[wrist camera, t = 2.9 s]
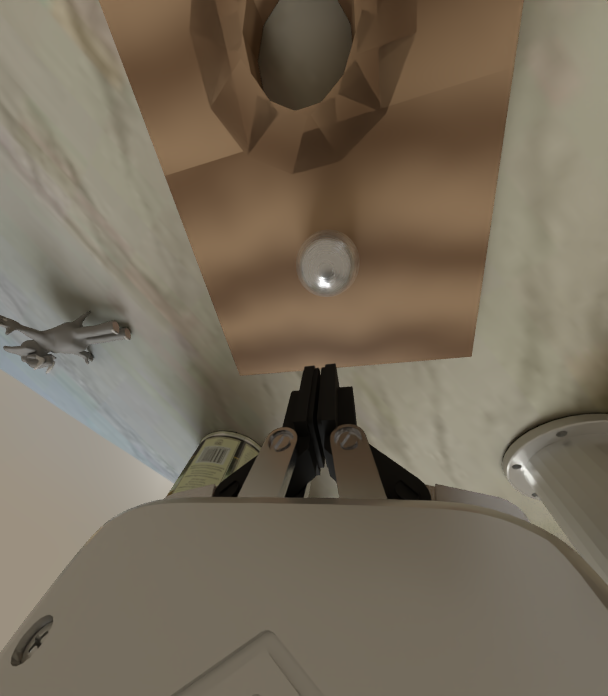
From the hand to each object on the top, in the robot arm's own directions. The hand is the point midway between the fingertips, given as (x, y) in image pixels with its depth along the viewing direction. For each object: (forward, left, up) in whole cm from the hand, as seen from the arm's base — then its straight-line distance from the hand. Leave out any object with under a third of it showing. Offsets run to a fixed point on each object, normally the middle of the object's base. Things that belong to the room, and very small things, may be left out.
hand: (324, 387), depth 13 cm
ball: (-1, -5, -5) cm, 8 cm away
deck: (-1, -10, -10) cm, 14 cm away
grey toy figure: (+26, -3, -10) cm, 28 cm away
